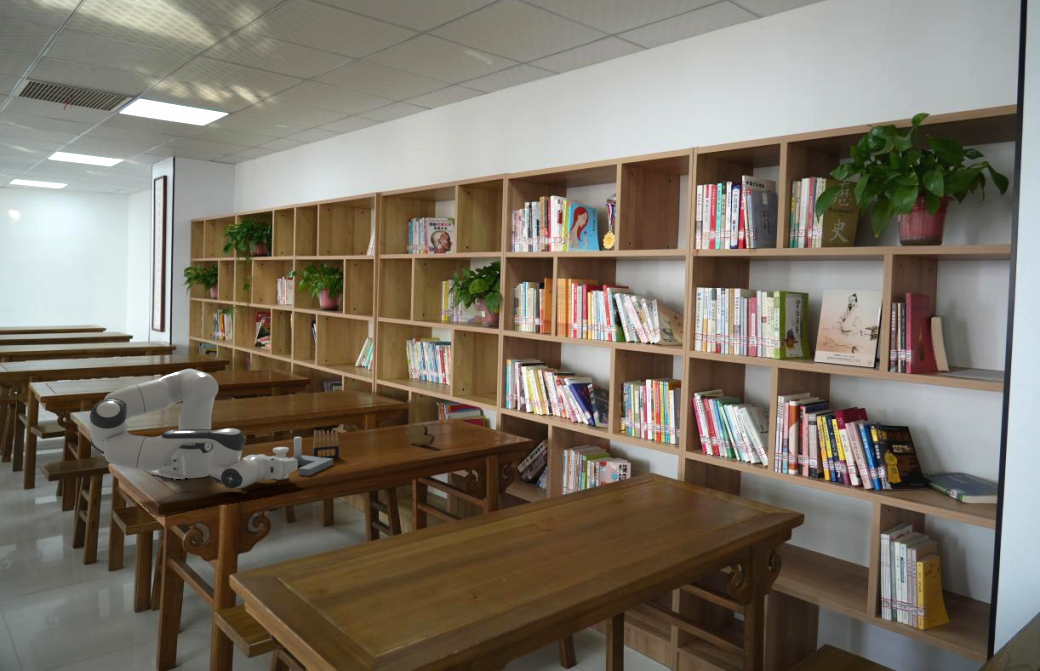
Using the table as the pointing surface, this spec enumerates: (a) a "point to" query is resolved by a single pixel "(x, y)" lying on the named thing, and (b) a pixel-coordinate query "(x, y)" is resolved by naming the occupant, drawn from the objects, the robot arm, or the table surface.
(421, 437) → the wooden carving
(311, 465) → the notched board
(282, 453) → the bobbin
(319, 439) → the ammunition clip
